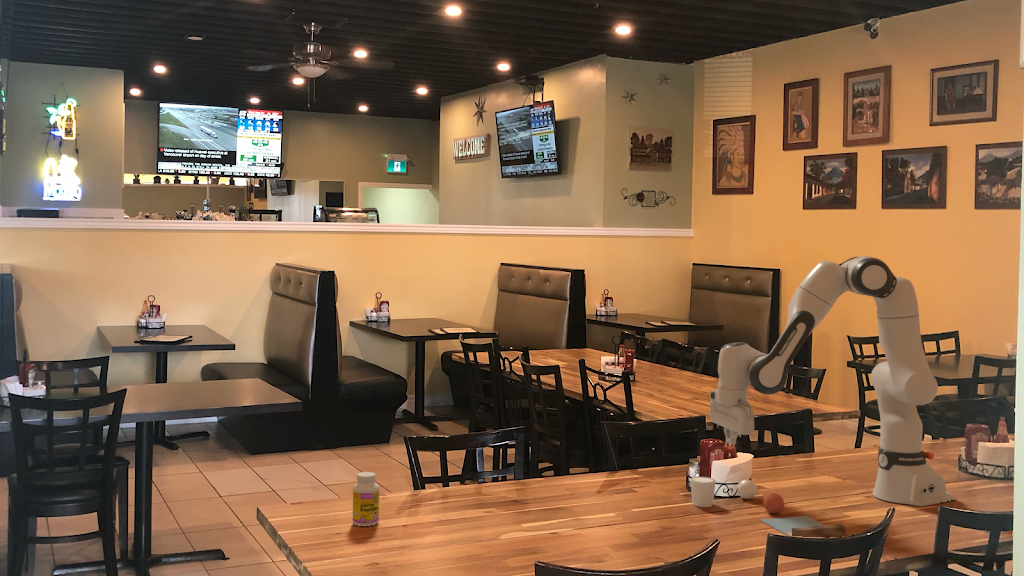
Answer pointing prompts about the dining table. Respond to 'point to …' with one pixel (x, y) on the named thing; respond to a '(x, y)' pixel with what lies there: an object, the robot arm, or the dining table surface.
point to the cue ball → (747, 489)
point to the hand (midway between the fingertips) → (730, 443)
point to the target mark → (791, 523)
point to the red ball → (773, 503)
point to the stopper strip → (820, 531)
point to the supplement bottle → (366, 500)
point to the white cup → (702, 491)
